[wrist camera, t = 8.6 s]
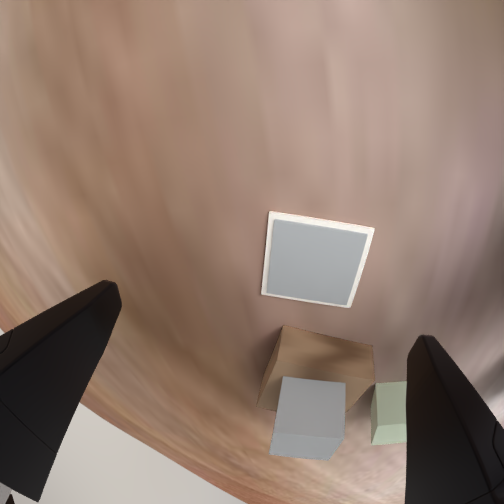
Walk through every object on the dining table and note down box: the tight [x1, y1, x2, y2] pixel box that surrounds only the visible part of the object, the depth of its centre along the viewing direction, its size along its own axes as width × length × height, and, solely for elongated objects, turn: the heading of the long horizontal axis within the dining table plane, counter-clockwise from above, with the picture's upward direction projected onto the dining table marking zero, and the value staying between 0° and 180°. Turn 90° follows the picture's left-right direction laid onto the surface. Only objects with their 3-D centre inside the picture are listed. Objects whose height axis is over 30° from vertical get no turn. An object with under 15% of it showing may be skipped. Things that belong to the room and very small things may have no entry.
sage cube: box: [371, 381, 407, 445], centre depth 26 cm, size 5×5×5 cm
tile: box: [261, 211, 375, 308], centre depth 21 cm, size 7×7×1 cm
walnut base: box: [256, 325, 375, 413], centre depth 26 cm, size 8×8×4 cm
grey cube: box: [269, 376, 346, 460], centre depth 22 cm, size 5×5×5 cm
